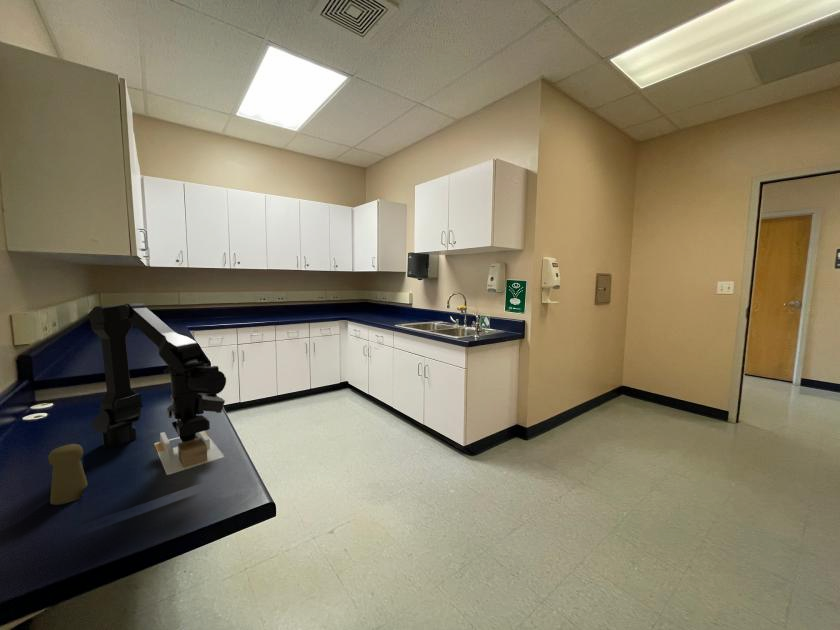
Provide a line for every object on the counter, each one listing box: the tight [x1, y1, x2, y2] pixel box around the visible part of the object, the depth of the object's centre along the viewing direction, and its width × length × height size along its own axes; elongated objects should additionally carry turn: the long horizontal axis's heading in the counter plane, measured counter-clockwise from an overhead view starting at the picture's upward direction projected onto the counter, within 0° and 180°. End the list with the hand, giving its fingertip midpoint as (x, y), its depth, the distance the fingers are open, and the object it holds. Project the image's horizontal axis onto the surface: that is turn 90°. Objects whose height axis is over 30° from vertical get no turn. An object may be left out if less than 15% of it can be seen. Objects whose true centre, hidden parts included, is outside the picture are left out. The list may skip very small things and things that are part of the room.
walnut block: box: [177, 437, 207, 468], centre depth 86 cm, size 6×5×4 cm
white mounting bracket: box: [153, 431, 225, 476], centre depth 92 cm, size 22×12×4 cm, turn 44°
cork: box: [47, 443, 89, 506], centre depth 74 cm, size 6×6×11 cm
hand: (189, 448), depth 90 cm, fingers closed
